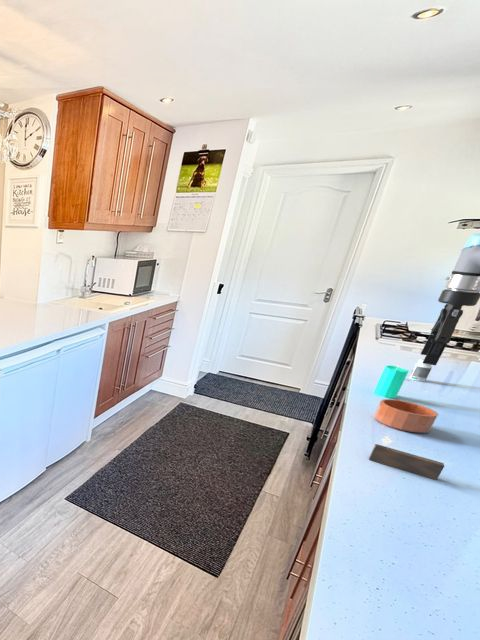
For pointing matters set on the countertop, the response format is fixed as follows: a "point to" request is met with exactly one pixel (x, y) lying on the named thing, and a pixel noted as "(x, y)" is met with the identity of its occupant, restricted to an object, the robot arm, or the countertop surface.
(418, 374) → the pill bottle
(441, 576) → the countertop surface
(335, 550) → the countertop surface
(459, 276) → the robot arm
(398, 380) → the candle
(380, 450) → the bar
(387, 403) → the bowl
